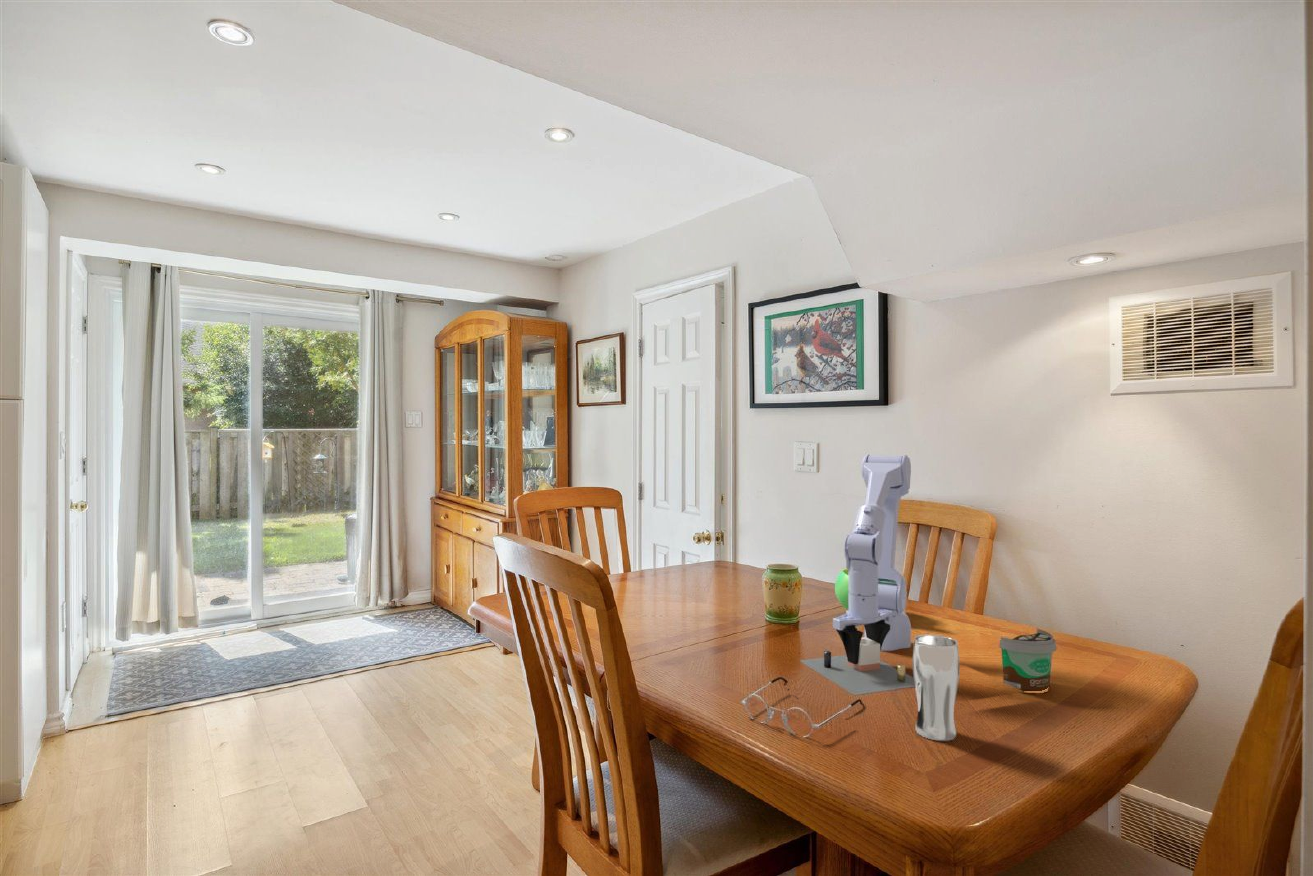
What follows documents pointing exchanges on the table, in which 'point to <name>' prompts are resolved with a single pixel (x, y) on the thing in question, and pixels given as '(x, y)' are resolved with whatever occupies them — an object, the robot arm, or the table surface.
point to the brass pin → (901, 673)
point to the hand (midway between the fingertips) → (863, 660)
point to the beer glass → (935, 685)
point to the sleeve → (867, 655)
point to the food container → (1028, 660)
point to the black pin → (827, 659)
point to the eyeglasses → (784, 716)
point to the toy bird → (845, 587)
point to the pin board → (859, 676)
